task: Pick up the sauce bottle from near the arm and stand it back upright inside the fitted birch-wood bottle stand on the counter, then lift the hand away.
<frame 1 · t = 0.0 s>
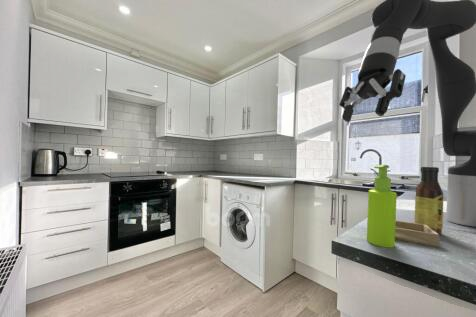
hand: (361, 117, 50), 31 cm above the counter, tool tilted 20°, fingers open, 8 cm apart
sauce bottle: (427, 232, 62), on the counter
soap dispenser: (379, 243, 51), on the counter
wooden stand: (407, 236, 57), on the counter
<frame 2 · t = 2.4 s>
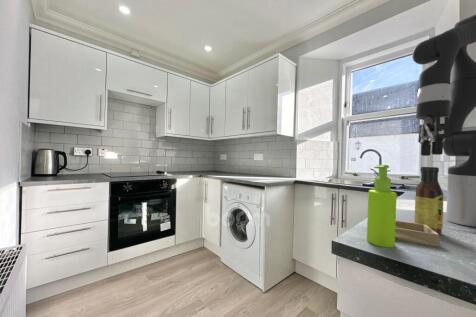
hand: (430, 155, 62), 23 cm above the counter, tool pointing down, fingers open, 8 cm apart
nothing on the counter moved.
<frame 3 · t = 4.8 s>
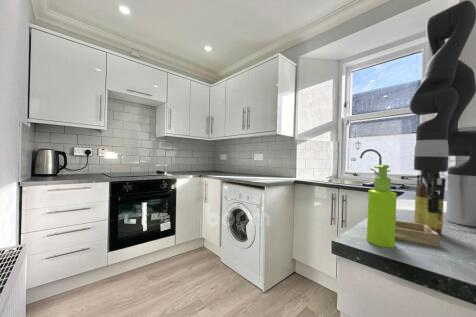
hand: (428, 210, 62), 7 cm above the counter, tool pointing down, fingers closed on sauce bottle, 6 cm apart
sauce bottle: (427, 232, 62), on the counter, touching gripper
everything else where it was.
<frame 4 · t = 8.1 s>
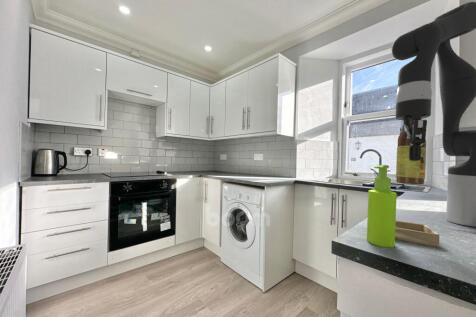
hand: (410, 160, 57), 21 cm above the counter, tool pointing down, fingers closed on sauce bottle, 6 cm apart
sauce bottle: (409, 184, 57), point 15 cm above the counter, touching gripper
everything else where it was.
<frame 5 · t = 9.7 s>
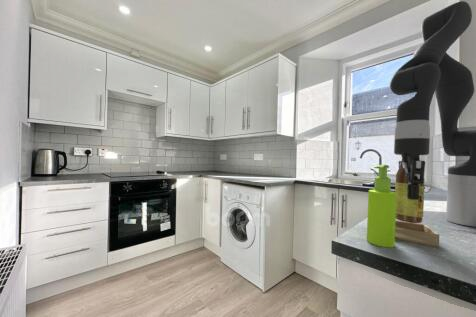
hand: (408, 197, 57), 11 cm above the counter, tool pointing down, fingers closed on sauce bottle, 6 cm apart
sauce bottle: (407, 221, 57), point 4 cm above the counter, touching gripper
everything else where it was.
when the fingers open (8 cm above the counter, at t = 11.3 s): sauce bottle drops 1 cm, resting on wooden stand.
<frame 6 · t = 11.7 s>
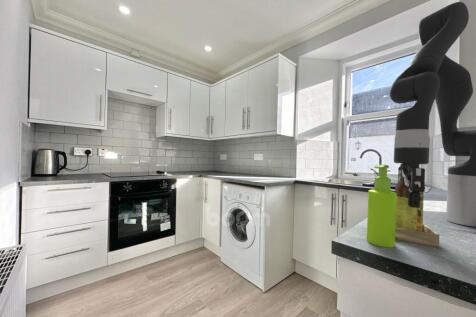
hand: (408, 204, 57), 9 cm above the counter, tool pointing down, fingers open, 8 cm apart
sauce bottle: (407, 235, 57), resting on wooden stand
everything else where it was.
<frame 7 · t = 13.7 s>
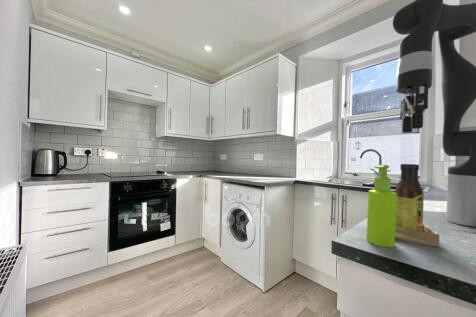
hand: (411, 130, 57), 30 cm above the counter, tool pointing down, fingers open, 8 cm apart
nothing on the counter moved.
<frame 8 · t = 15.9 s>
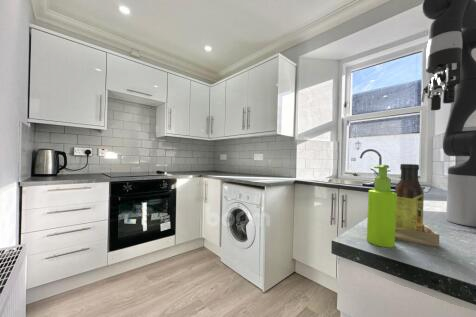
hand: (441, 106, 61), 38 cm above the counter, tool pointing down, fingers open, 8 cm apart
nothing on the counter moved.
at the end: sauce bottle 0.1 cm off-centre on the wooden stand, point 0.4 cm above the wooden stand's base; sauce bottle tilted 0°; the gripper is holding nothing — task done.
